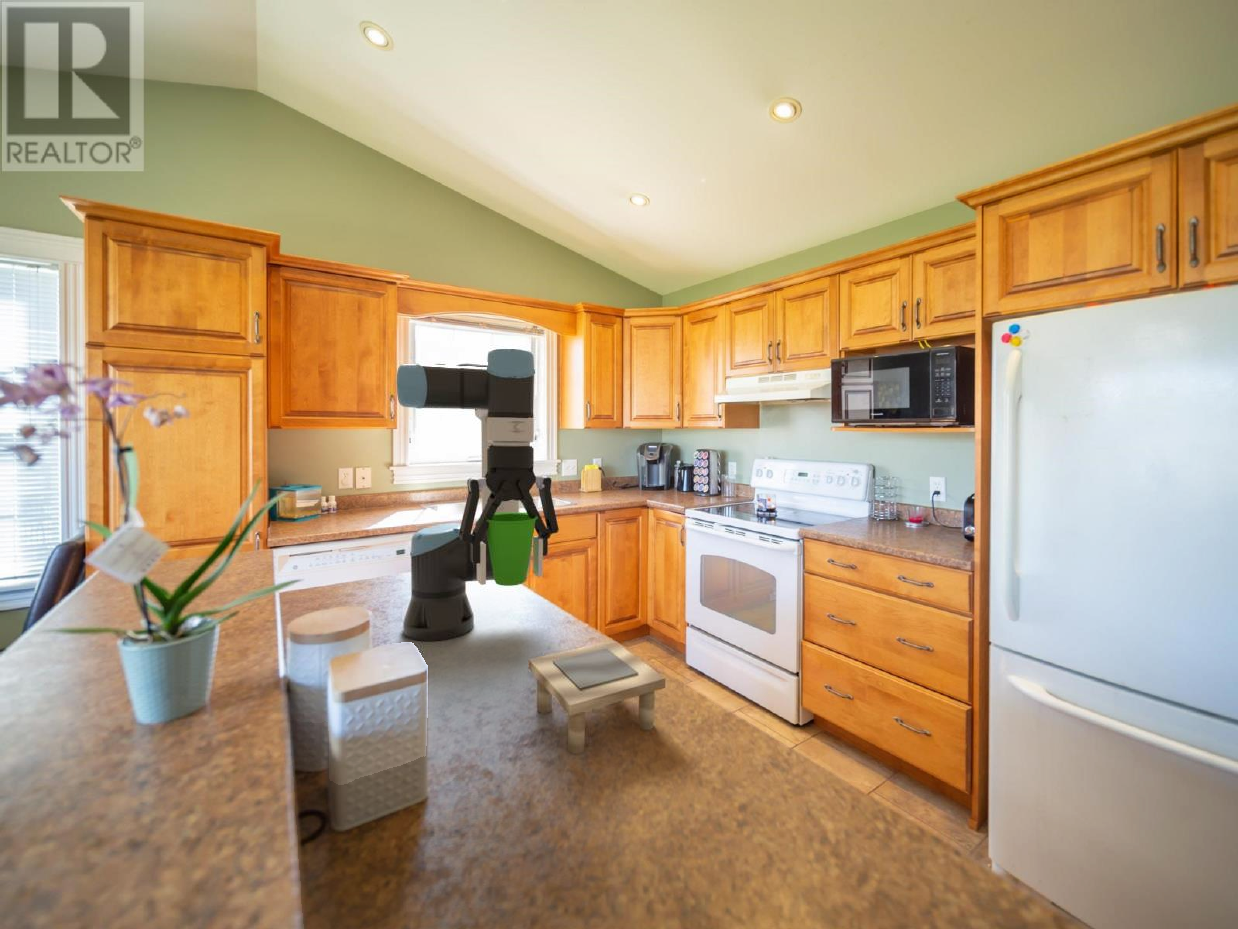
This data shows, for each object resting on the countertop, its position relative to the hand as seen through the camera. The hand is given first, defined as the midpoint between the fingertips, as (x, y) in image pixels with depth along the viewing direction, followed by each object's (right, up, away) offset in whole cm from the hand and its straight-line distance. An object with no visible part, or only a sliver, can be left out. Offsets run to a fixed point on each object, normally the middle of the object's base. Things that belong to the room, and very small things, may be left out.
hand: (510, 578), depth 86 cm
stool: (+14, -21, -4) cm, 26 cm away
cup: (0, -1, 0) cm, 1 cm away
